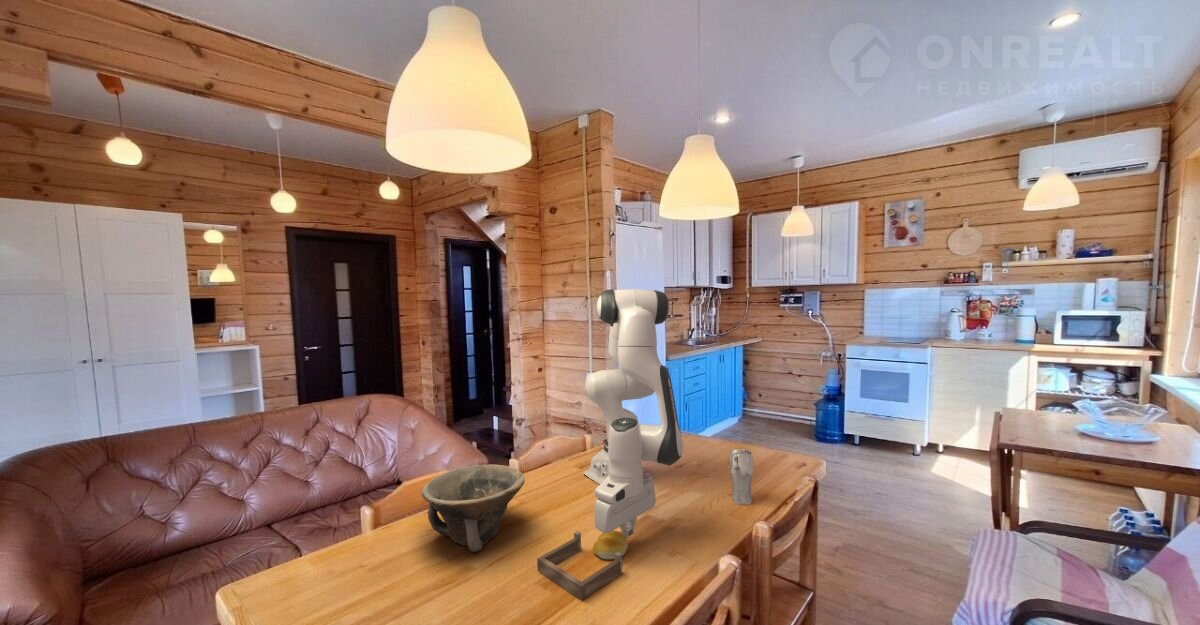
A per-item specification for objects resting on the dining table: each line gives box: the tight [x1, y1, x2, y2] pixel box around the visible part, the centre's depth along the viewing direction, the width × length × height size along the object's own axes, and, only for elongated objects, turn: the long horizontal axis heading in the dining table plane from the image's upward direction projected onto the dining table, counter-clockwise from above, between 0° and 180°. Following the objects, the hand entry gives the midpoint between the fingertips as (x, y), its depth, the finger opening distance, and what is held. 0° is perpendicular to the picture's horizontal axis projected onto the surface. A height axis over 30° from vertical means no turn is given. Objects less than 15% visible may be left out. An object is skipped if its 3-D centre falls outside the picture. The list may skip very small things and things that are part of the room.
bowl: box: [421, 464, 526, 553], centre depth 121 cm, size 27×26×15 cm
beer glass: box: [729, 448, 754, 506], centre depth 135 cm, size 7×7×15 cm
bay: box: [536, 530, 623, 601], centre depth 102 cm, size 15×13×4 cm
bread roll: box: [592, 530, 629, 560], centre depth 110 cm, size 8×9×4 cm
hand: (627, 535), depth 114 cm, fingers closed
